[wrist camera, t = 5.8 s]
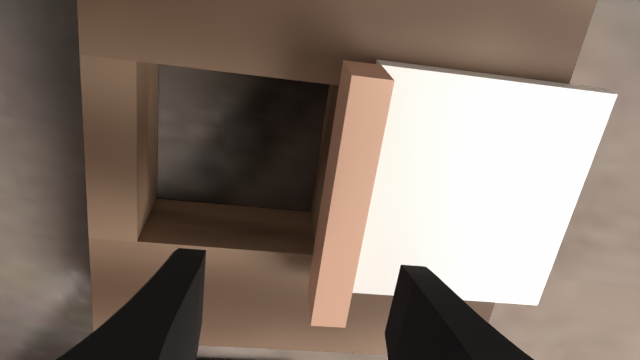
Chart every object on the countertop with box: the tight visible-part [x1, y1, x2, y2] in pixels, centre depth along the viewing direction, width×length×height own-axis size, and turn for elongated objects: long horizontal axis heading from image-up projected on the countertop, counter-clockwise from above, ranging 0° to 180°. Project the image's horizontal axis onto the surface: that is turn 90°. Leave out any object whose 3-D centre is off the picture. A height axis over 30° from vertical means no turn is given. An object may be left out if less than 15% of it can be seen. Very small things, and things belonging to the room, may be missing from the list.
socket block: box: [77, 0, 597, 355], centre depth 20 cm, size 16×16×4 cm
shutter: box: [307, 60, 618, 328], centre depth 18 cm, size 9×9×3 cm
